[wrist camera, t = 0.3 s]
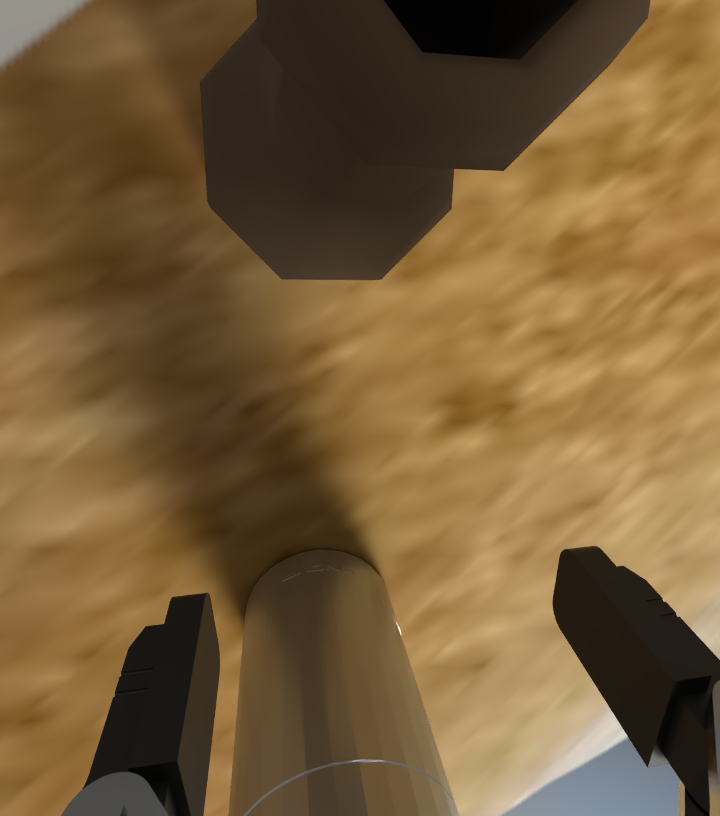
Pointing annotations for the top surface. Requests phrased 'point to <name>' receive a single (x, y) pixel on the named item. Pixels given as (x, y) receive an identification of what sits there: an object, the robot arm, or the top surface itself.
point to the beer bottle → (385, 116)
